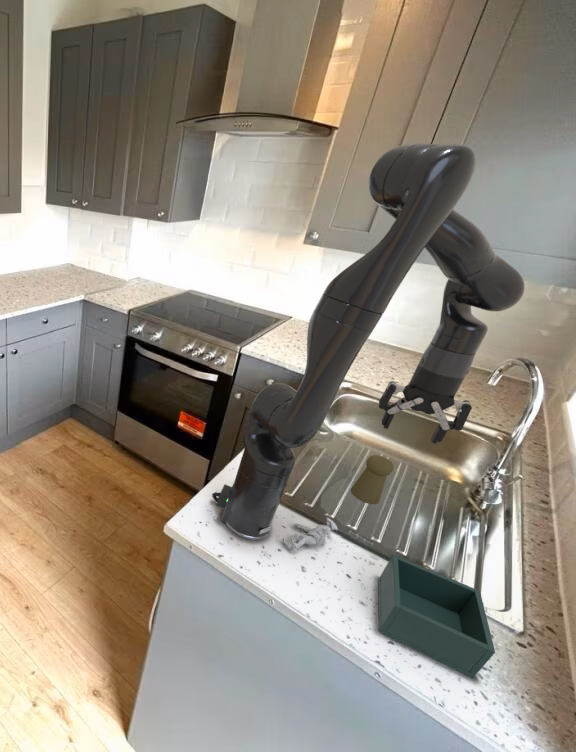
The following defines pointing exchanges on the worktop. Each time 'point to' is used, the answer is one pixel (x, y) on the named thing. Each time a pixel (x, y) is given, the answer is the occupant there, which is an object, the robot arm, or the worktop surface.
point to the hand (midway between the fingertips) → (408, 434)
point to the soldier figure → (311, 534)
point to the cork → (372, 479)
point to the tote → (434, 616)
